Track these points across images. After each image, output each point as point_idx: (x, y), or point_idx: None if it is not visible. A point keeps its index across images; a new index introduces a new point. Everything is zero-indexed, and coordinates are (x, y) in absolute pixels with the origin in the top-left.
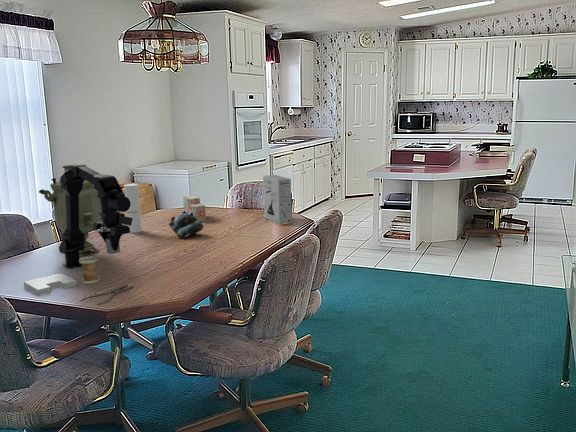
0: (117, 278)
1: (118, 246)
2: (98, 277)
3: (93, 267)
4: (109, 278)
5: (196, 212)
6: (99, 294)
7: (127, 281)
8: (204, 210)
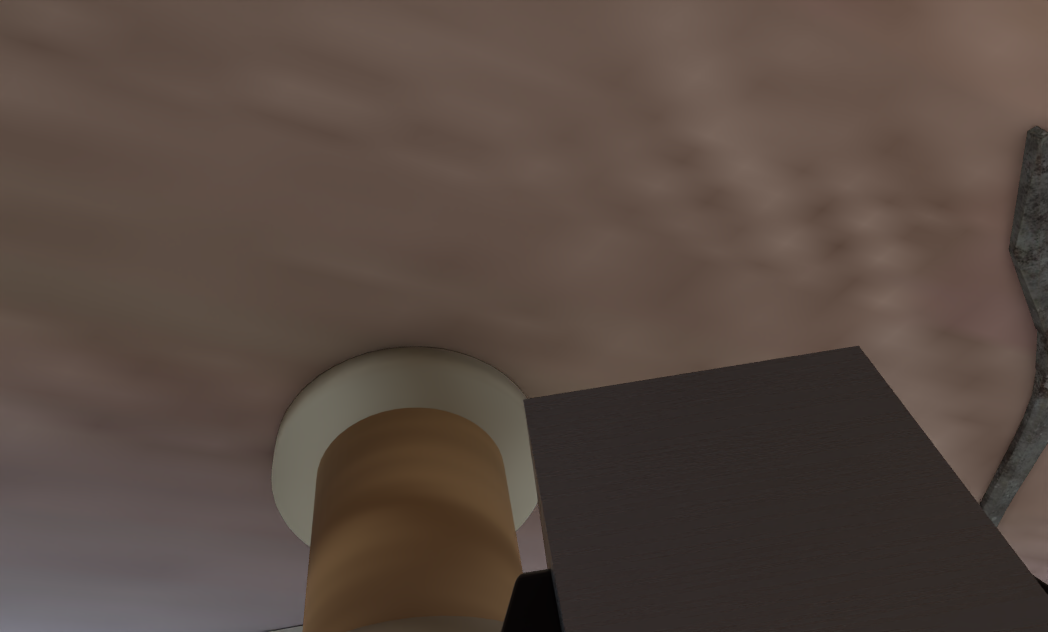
0: (524, 112)
1: (968, 544)
2: (404, 387)
3: None
4: (429, 218)
5: None
6: (1013, 488)
7: (820, 35)
8: None
